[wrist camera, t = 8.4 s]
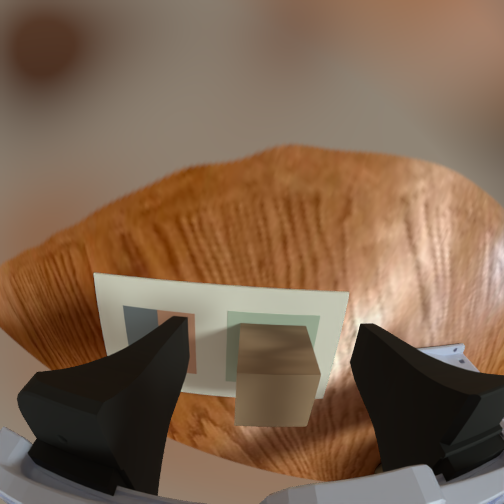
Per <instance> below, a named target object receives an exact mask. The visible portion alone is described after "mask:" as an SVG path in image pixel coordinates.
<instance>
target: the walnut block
mask: <svg viewBox="0 0 504 504" xmlns="http://www.w3.org/2000/svg"><path fill="white" fill-rule="evenodd" d="M320 377H321V373H320V369H319V366H318V363H317V359H316V356H315V353H314V350H313V346H312V343H311V340H310V337H309V334H308V330H307V327H306V326H297V325H270V324H250V323H241V326H240V338H239V350H238V363H237V377H236V400H235V423H234V425H236V426H257V427H302V426H307V424H308V421H309V417H310V414H311V410H312V407H313V403H314V400H315V396H316V393H317V389H318V385H319V381H320Z"/></svg>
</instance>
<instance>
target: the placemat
mask: <svg viewBox="0 0 504 504" xmlns="http://www.w3.org/2000/svg"><path fill="white" fill-rule="evenodd" d="M94 282H95V290H96V297H97V304H98V310H99V316H100V322H101V327H102V333H103V338H104V342H105V347H106V352H107V356H109V355H111V354H113V353H116V352H118V351H120V350H122V349H124V348H126V347H127V346H129V345H131V344H132V343H134V342H136V341H137V340H139V339H141V338H142V337H144V336H145V335H147V334H148V333H150V332H151V331H153V330H154V329H155V328H157V327H158V326H160V325H161V324H162V323H164V322H165V321H166V320H168V319H169V318H171V317H172V316H182V317H188V334H189V352H190V359H189V364H188V369H187V374H186V378H185V381H184V383H183V386H182V389H181V392H188V393H196V394H205V395H214V396H226V397H236V377H237V363H238V350H239V338H240V326H241V323H250V324H270V325H297V326H306V327H307V330H308V334H309V337H310V340H311V343H312V346H313V350H314V353H315V356H316V359H317V363H318V366H319V369H320V373H321V377H320V381H319V385H318V389H317V393H316V396H315V399H323V396H324V393H325V390H326V386H327V383H328V379H329V376H330V372H331V369H332V365H333V361H334V358H335V354H336V350H337V346H338V342H339V338H340V334H341V329H342V325H343V321H344V316H345V312H346V307H347V303H348V298H349V292H346V291H321V290H300V289H281V288H265V287H249V286H234V285H221V284H208V283H196V282H184V281H172V280H162V279H151V278H141V277H131V276H122V275H113V274H104V273H94Z"/></svg>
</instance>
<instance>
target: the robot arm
mask: <svg viewBox="0 0 504 504" xmlns="http://www.w3.org/2000/svg"><path fill="white" fill-rule="evenodd" d="M464 348H465V345H464V344H463V343H461V344H453V345H446V346H437V347H428V348H418V349H416V348H414V347H412V346H411V345H409V344H407V343H406V342H404V341H402V340H401V339H399V338H397V337H396V336H394V335H393V334H391V333H389V332H388V331H386V330H384V329H383V328H381V327H379V326H377V325H375V324H360V327H359V331H358V335H357V339H356V343H355V346H354V350H353V354H352V357H351V361H350V364H351V368H352V372H353V376H354V380H355V382H356V385H357V387H358V390H359V392H360V394H361V397H362V399H363V401H364V404H365V406H366V408H367V411H368V413H369V416H370V418H371V421H372V424H373V427H374V430H375V434H376V438H377V442H378V447H379V452H380V457H381V463H382V470H383V473H379V474H374V475H369V476H364V477H358V478H352V479H346V480H339V481H331V482H322V483H313V484H307V485H302V486H296V487H289V488H286V489H283V490H281V491H278V492H275V493H272V494H270V495H269V496H267V497H266V498H265V499H264V500H263V501H262V502H261V503H260V504H504V375H494V374H486V373H480V372H479V371H478V370H477V368H476V367H475V366H474V365H473V364H472V363H471V362H470V361H469V360H468V359H467V358H466V357H465V356H464V354H463V351H464ZM189 359H190V352H189V334H188V317H182V316H172V317H171V318H169V319H168V320H166V321H165V322H164V323H162V324H161V325H160V326H158V327H157V328H155V329H154V330H153V331H151V332H150V333H148V334H147V335H145V336H144V337H142V338H141V339H139V340H137V341H136V342H134V343H132V344H131V345H129V346H127V347H126V348H124V349H122V350H120V351H118V352H116V353H113V354H111V355H109V356H107V357H104V358H101V359H98V360H95V361H93V362H90V363H87V364H83V365H79V366H75V367H71V368H66V369H60V370H52V371H43V372H37V373H36V374H35V375H34V376H33V377H32V378H31V379H30V381H29V382H28V383H27V384H26V385H25V386H24V388H23V389H22V390H21V391H20V393H19V394H18V397H17V401H18V406H19V409H20V411H21V413H22V415H23V417H24V418H25V420H26V422H27V424H28V425H29V427H30V429H31V430H32V432H33V433H34V435H35V436H36V438H37V439H36V440H35V442H34V444H32V443H31V442H30V441H28V440H27V439H26V438H24V437H23V436H20V435H19V434H17V433H15V432H14V431H12V430H10V429H8V428H7V427H3V428H2V429H1V430H0V498H1V499H2V500H3V501H4V502H6V503H7V504H205V503H196V502H188V501H183V500H176V499H171V498H165V497H160V496H158V487H159V479H160V472H161V464H162V459H163V454H164V448H165V442H166V438H167V433H168V428H169V424H170V421H171V417H172V414H173V411H174V409H175V406H176V403H177V400H178V397H179V395H180V392H181V389H182V386H183V383H184V381H185V378H186V374H187V369H188V364H189Z"/></svg>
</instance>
